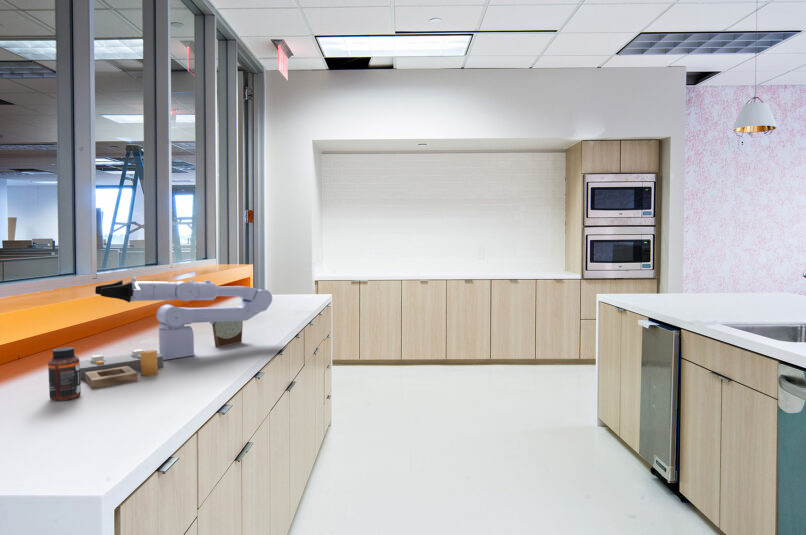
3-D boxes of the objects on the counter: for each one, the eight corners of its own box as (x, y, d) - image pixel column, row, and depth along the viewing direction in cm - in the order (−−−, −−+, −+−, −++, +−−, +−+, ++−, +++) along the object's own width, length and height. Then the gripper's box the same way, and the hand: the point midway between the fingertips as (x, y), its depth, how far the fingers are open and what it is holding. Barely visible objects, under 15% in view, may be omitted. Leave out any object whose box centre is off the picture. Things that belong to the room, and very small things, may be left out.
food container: (234, 340, 179) (233, 312, 178) (245, 341, 175) (244, 313, 175) (203, 346, 169) (202, 316, 168) (214, 348, 165) (212, 318, 165)
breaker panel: (153, 360, 148) (153, 348, 148) (163, 366, 141) (162, 354, 141) (74, 373, 135) (73, 359, 135) (79, 380, 128) (79, 366, 128)
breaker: (141, 357, 144) (141, 349, 144) (144, 359, 142) (143, 350, 142) (132, 359, 142) (132, 350, 142) (134, 360, 140) (134, 351, 140)
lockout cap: (155, 371, 137) (154, 349, 137) (159, 374, 134) (158, 352, 134) (139, 373, 134) (138, 351, 134) (143, 376, 131) (142, 354, 131)
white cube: (101, 363, 137) (101, 354, 137) (103, 365, 135) (103, 356, 135) (91, 364, 136) (91, 355, 136) (93, 366, 134) (93, 357, 134)
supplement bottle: (87, 395, 116) (85, 347, 115) (62, 403, 110) (60, 352, 110) (68, 392, 118) (66, 345, 117) (43, 400, 112) (41, 350, 112)
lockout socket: (128, 372, 135) (127, 365, 135) (138, 380, 128) (137, 372, 128) (84, 379, 129) (84, 372, 128) (92, 388, 121) (92, 380, 121)
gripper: (144, 276, 155) (93, 275, 146) (158, 279, 144) (104, 278, 135) (143, 299, 155) (92, 299, 146) (157, 303, 144) (103, 304, 135)
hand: (98, 291), depth 140 cm, fingers open, 7 cm apart
